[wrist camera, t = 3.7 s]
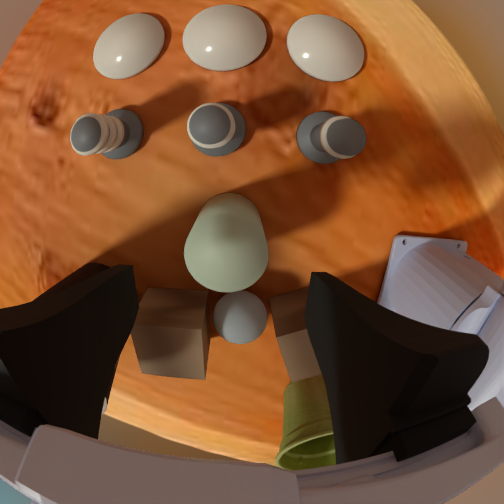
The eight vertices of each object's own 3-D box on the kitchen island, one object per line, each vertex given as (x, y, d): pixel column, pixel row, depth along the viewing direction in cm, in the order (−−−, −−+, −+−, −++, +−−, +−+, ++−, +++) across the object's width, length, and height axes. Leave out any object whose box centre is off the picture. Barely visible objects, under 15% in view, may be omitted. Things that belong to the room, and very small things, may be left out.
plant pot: (253, 404, 27) (257, 470, 19) (296, 350, 24) (314, 427, 16) (320, 415, 29) (334, 472, 21) (367, 368, 26) (395, 429, 18)
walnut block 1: (208, 289, 21) (201, 329, 17) (210, 338, 23) (205, 379, 19) (148, 286, 21) (128, 323, 16) (156, 334, 23) (142, 373, 18)
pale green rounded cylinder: (261, 193, 18) (271, 215, 13) (259, 252, 20) (266, 292, 15) (197, 192, 18) (181, 214, 13) (199, 251, 20) (187, 291, 15)
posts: (347, 117, 16) (381, 111, 12) (343, 165, 18) (375, 175, 13) (100, 113, 15) (61, 108, 11) (99, 160, 17) (61, 169, 12)
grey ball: (266, 281, 21) (272, 311, 17) (262, 322, 23) (267, 355, 19) (214, 279, 21) (209, 309, 17) (215, 321, 22) (211, 353, 19)
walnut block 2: (328, 279, 21) (349, 315, 17) (336, 325, 23) (353, 363, 19) (269, 297, 22) (276, 337, 17) (283, 341, 24) (291, 382, 19)
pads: (361, 26, 13) (363, 24, 13) (361, 89, 16) (364, 88, 15) (101, 23, 12) (99, 22, 12) (91, 85, 14) (89, 84, 14)
